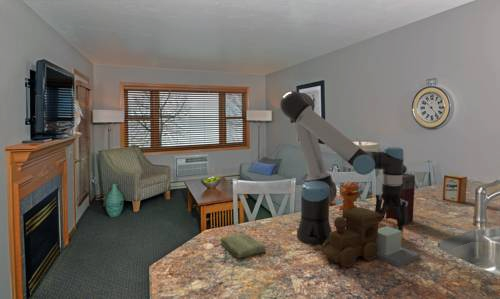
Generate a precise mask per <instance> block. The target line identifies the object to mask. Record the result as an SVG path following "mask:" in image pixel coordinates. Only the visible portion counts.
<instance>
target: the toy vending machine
mask: <svg viewBox="0 0 500 299" xmlns="http://www.w3.org/2000/svg"><path fill="white" fill-rule="evenodd" d="M407 171H408V169H407V166H406V165H405V164H403V178H402V184H401V185H402V194H401V197H402V200H404V201H408V202H409V204H408V223H411V222H414V206H415V205H414V204H415V187H416V186H415V184H416V183H415V182H416V175H415V174H412V173H406V172H407ZM399 204H400V211H401V206H402V205H401V202H400V203H399ZM389 218H391V219H395V220H396V216H395V212H394V209H393V208H392V206H390V205H389V207H388V209H387V212H386V214H385V219H389Z"/></svg>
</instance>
